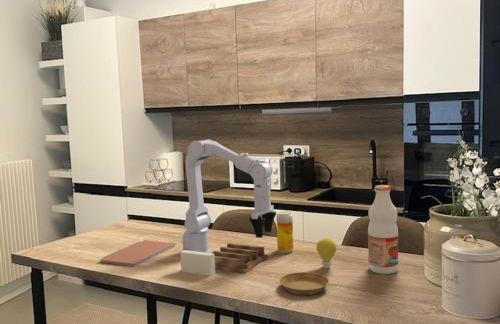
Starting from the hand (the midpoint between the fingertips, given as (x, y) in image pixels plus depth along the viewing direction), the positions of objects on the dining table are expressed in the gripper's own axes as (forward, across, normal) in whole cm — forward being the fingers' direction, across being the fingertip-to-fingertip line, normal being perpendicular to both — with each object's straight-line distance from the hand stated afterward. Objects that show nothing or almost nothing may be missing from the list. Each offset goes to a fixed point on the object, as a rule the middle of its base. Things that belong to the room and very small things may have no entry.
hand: (263, 234), depth 163 cm
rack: (+10, -4, +10) cm, 14 cm away
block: (+10, -18, +17) cm, 26 cm away
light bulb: (+10, +2, -22) cm, 25 cm away
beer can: (+10, +14, -2) cm, 18 cm away
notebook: (+11, -8, +51) cm, 52 cm away
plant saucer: (+10, -18, -21) cm, 30 cm away
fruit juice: (+10, +6, -40) cm, 42 cm away
